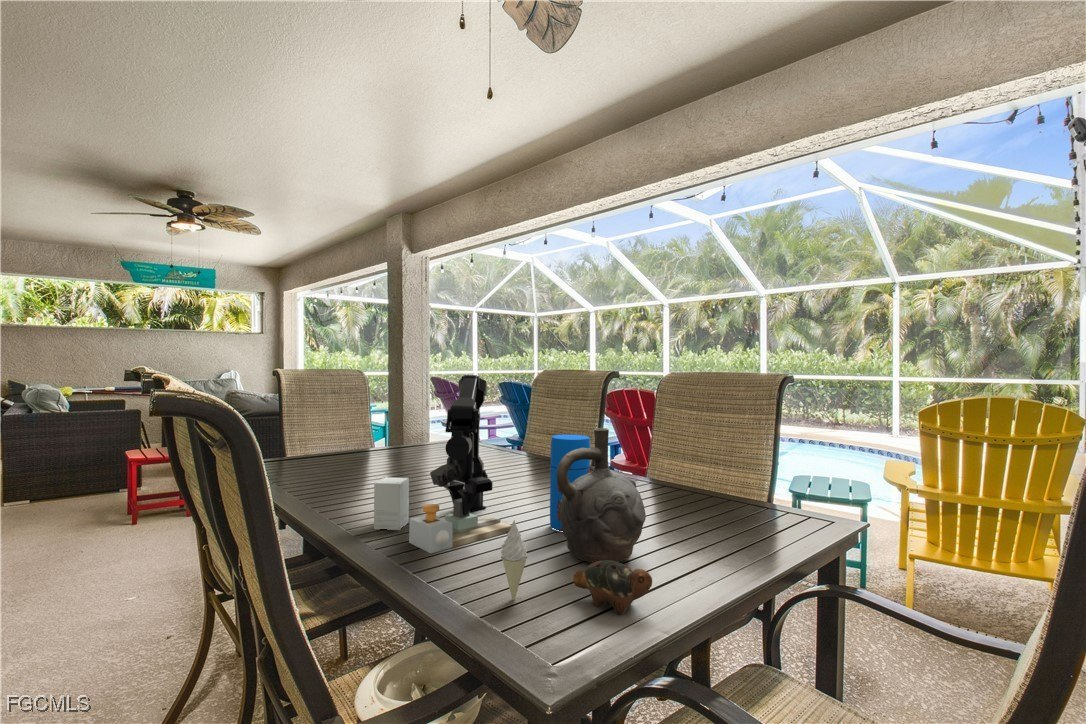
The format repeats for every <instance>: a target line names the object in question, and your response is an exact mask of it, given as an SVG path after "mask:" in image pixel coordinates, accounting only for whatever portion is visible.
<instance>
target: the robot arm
mask: <svg viewBox="0 0 1086 724" xmlns="http://www.w3.org/2000/svg"><path fill="white" fill-rule="evenodd" d="M457 393H458V398H457V399H456V400H453V401H452V403H451V405H450V408H448V409H447V417H446V423H445V424H446V425H445V433H451V435H450V436H451V437H450V438H449V439H448V441H447V442H446V444H445V453H446V455H447V458H446V463H444V464H443V465H441V466H439V467H437V468H435V469H433V470H432V471H430V472H429V475H430V477H431V481H432V485H433V486H438V487H440V488H444V489H446V490H447V491H448V492H449V496H450V498H451V500H452V505H453V504H454V500H456V499H461V498H462V510H463V515H467V514H468V512H469V510H470V513H471V512H475V511H481V510H484V509H487V506H485V505H484V493H486V492H490V491H493V490H494V489H493V484H494V483H493V481H492V479H490V478H489V477H488V473H487V472H486V469H484V467H485V465H484V462H483V460H482V458H481V457H480V425H481V424H480V422H481V412H480V410H481V407H482V406H483V404H484V402H485V401H486V396H487V395H488V383H487V380H486V379H483V378H481V377H480V376H479V375H478V374H464V375H461V378H460V379H458V387H457Z"/></svg>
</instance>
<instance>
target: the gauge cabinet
mask: <svg viewBox="0 0 1086 724" xmlns="http://www.w3.org/2000/svg"><path fill="white" fill-rule="evenodd" d="M408 528H409V530H408V531H409V532H408V533H409V535H408V536H409V537H408V542H409V544H410V545H413V546H415V547H417V548H419V549H421V550H423V551H425V552H427V553H429V554H434V553H437V552H441V551H446V550H449V549H451V548H452V532H453V523H452V522H449V521H447V520H445V518H442V517H439V516H437V515H436V522H433V523H429V524H428V523H426V514H424V515H418V516H414V517H410V518H409V527H408Z"/></svg>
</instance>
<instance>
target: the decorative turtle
mask: <svg viewBox="0 0 1086 724" xmlns="http://www.w3.org/2000/svg"><path fill="white" fill-rule="evenodd" d="M572 580H573V584H574V586H575V587H578V588H580V589H585V590H588V591H589V592H590V595H591V598H592V603H593V605H594V606H595V607H597V608H600V607H603V606H605V605H606V604H607V603H609V604H610V605H611V606H612V608H613V609H614V612H615V613H616V614H617V613H618V615H623V614H624V613H625V612H626V611H627V609H628V607H629V606H630V605H631V604H632V603H633V602H634V601H636V600H638V599H640V598H642V597H643V596H645V595H646V594H647V593H648V592H649V591H650V590H651V588H652V585H653V578H652V576H651V574H650V573H649V572H648V571H646V570H645V569H643V568H636V569H634V570H632V568H630V567H629V566H628V565H626V564H624V563H621V562H620V561H619V562H616V561H611V560H602V561H597V562H594V563H592V562H591V563H590V565H588V566H587V567H585V569H583V570H577V571H575V572H574V573H573V579H572ZM629 604H630V605H629Z"/></svg>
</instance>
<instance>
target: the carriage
mask: <svg viewBox="0 0 1086 724" xmlns="http://www.w3.org/2000/svg"><path fill="white" fill-rule="evenodd" d="M452 505H453V510H452V511H453V512H452V513H450V514H446V515H444V519H445V520H447V521H449V522H452V523H453V529H456V530H458V531H459V530H463V529H467V528H471V527H475V526H478V520H479V516H478V515H477V514H475V513H471V512H470V510H469V512H468V514H467V515H463V510H462V498H461V499H456V500H454V504H453V503H452Z"/></svg>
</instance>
